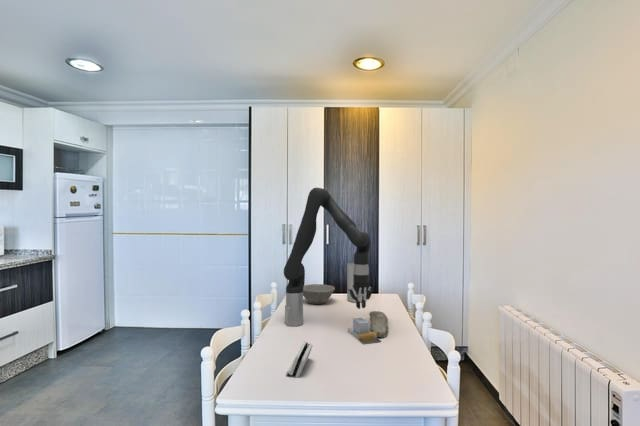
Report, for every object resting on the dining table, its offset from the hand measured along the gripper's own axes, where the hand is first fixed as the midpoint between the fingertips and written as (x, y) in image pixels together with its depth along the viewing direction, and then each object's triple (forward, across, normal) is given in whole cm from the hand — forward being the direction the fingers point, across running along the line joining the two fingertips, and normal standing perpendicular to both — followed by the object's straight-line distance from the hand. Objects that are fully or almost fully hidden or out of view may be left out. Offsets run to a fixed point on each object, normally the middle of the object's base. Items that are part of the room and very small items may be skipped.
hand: (360, 308), depth 169 cm
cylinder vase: (+13, +25, +59) cm, 65 cm away
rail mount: (+13, 0, -3) cm, 13 cm away
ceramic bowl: (+13, -2, +62) cm, 63 cm away
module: (+13, 0, 0) cm, 13 cm away
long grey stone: (+13, +14, +8) cm, 21 cm away
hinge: (+13, -38, -25) cm, 47 cm away
